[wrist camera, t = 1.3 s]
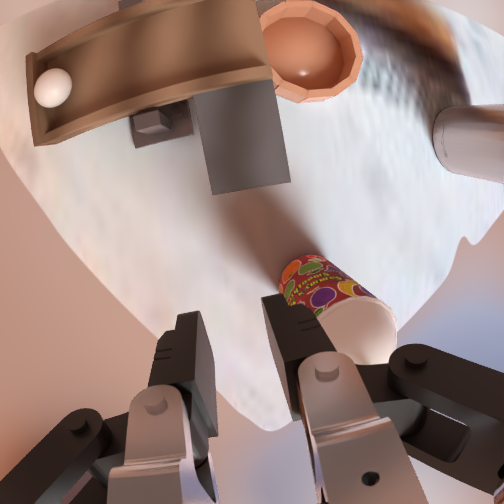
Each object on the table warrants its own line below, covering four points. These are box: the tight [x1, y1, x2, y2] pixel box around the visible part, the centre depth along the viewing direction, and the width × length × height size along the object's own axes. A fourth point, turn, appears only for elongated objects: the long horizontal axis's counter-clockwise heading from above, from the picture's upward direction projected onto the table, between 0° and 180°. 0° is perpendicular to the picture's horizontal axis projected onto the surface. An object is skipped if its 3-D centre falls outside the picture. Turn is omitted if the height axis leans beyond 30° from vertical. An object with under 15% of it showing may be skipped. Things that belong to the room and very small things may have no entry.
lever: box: [26, 0, 291, 195], centre depth 21 cm, size 20×17×5 cm
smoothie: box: [279, 255, 397, 365], centre depth 26 cm, size 8×8×20 cm
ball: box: [34, 68, 72, 108], centre depth 19 cm, size 4×4×4 cm
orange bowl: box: [260, 0, 363, 103], centre depth 26 cm, size 11×11×4 cm
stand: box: [119, 0, 194, 148], centre depth 23 cm, size 6×14×8 cm, turn 10°
